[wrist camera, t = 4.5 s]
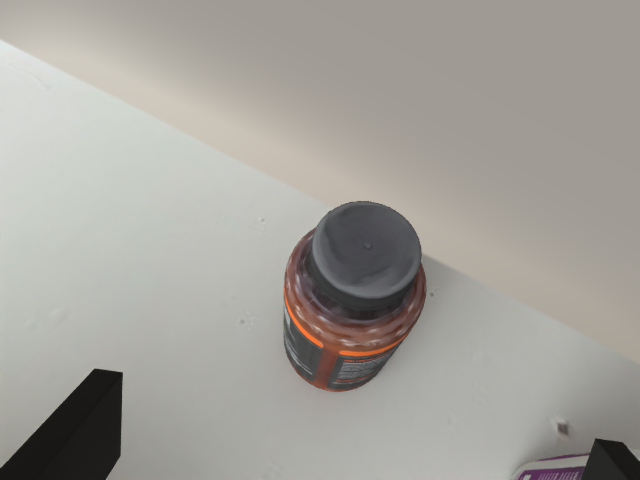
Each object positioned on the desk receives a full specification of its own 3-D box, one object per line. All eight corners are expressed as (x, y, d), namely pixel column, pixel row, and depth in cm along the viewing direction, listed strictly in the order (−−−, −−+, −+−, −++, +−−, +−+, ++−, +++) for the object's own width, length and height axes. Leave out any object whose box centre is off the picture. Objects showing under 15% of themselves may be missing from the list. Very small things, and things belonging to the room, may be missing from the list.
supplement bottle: (407, 342, 26) (485, 252, 16) (335, 418, 24) (375, 367, 14) (334, 273, 28) (364, 154, 18) (261, 337, 25) (249, 241, 16)
